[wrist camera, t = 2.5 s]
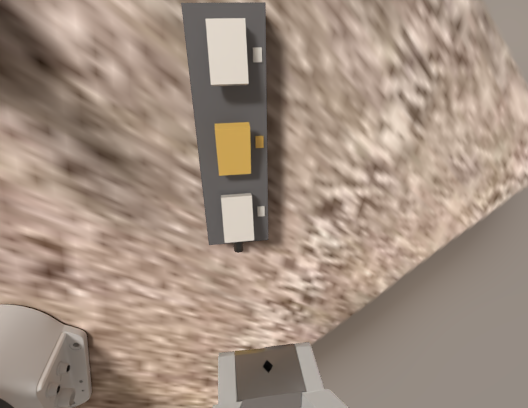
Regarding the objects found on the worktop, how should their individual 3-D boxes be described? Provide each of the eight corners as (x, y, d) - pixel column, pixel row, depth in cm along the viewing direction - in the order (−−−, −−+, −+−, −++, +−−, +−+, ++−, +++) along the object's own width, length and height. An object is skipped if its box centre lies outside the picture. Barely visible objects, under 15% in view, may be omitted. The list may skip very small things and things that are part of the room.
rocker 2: (249, 167, 33) (251, 173, 32) (218, 169, 33) (219, 175, 32) (248, 122, 30) (250, 127, 29) (214, 123, 29) (214, 129, 28)
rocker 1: (247, 85, 28) (248, 83, 27) (211, 86, 28) (210, 84, 27) (244, 22, 27) (245, 18, 26) (206, 23, 27) (205, 18, 25)
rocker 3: (253, 236, 36) (254, 240, 34) (224, 238, 35) (224, 242, 34) (250, 193, 34) (251, 195, 33) (221, 195, 34) (220, 197, 33)
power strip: (264, 242, 43) (269, 263, 39) (211, 246, 42) (211, 268, 38) (259, 7, 30) (266, 1, 26) (185, 7, 30) (180, 2, 26)
